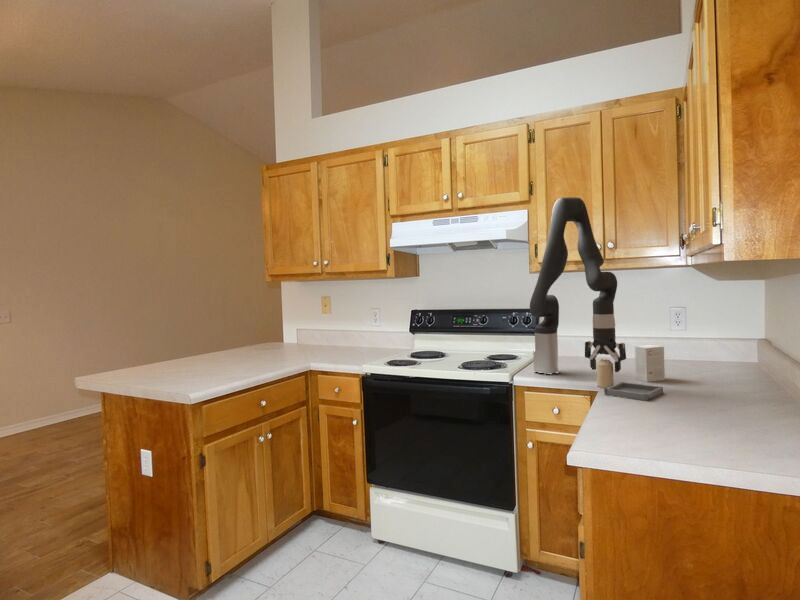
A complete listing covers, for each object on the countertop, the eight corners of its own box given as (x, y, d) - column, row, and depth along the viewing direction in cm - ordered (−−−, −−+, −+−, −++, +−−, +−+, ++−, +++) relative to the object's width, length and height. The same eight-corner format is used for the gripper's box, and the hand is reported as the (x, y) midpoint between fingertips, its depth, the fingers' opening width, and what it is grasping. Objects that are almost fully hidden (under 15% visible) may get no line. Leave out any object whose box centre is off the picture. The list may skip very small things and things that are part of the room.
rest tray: (604, 394, 166) (604, 389, 166) (621, 387, 176) (621, 382, 176) (647, 401, 156) (647, 394, 156) (663, 392, 166) (663, 387, 166)
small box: (652, 377, 191) (652, 344, 190) (665, 380, 185) (664, 346, 184) (635, 379, 189) (634, 345, 188) (647, 382, 183) (646, 347, 182)
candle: (604, 389, 175) (603, 361, 175) (594, 386, 180) (593, 359, 180) (617, 387, 176) (616, 360, 176) (606, 384, 182) (606, 357, 181)
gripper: (580, 326, 180) (582, 370, 180) (619, 327, 170) (620, 374, 170) (589, 325, 185) (591, 367, 185) (628, 326, 175) (629, 371, 175)
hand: (605, 370), depth 178 cm, fingers open, 8 cm apart
